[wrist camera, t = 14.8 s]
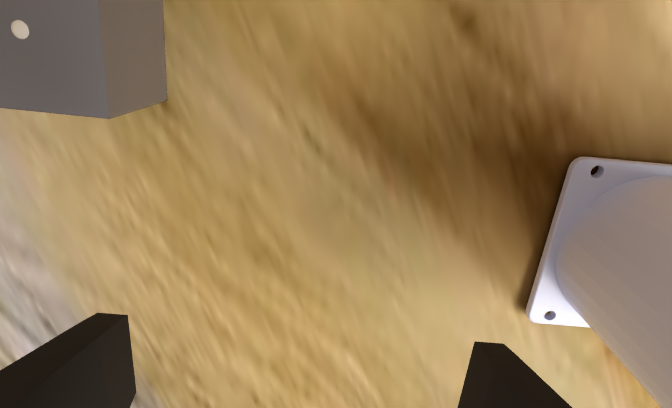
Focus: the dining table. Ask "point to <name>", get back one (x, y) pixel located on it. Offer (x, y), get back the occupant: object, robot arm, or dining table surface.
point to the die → (82, 56)
